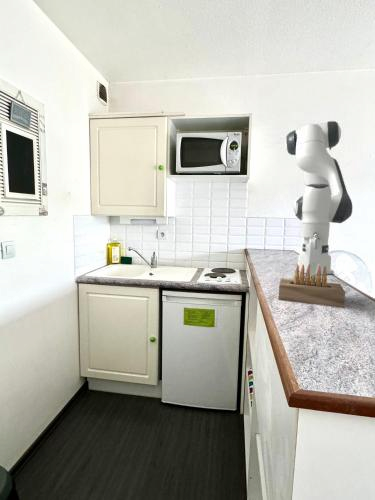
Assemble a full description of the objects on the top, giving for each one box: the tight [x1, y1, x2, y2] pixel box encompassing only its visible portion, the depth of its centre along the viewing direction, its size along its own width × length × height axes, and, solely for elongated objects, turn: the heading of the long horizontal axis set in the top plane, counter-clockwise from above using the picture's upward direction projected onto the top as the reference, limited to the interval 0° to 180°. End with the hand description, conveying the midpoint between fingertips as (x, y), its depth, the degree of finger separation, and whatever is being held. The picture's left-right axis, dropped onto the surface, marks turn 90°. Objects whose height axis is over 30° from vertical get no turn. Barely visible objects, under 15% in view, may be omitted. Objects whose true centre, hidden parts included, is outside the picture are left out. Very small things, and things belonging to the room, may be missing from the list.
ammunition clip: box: [293, 263, 328, 287], centre depth 97 cm, size 11×2×12 cm, turn 68°
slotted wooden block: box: [278, 278, 346, 308], centre depth 97 cm, size 11×20×5 cm, turn 69°
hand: (311, 271), depth 96 cm, fingers open, 8 cm apart
